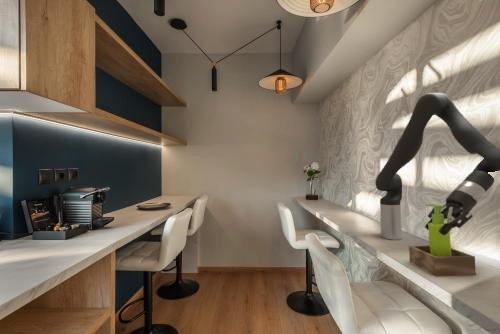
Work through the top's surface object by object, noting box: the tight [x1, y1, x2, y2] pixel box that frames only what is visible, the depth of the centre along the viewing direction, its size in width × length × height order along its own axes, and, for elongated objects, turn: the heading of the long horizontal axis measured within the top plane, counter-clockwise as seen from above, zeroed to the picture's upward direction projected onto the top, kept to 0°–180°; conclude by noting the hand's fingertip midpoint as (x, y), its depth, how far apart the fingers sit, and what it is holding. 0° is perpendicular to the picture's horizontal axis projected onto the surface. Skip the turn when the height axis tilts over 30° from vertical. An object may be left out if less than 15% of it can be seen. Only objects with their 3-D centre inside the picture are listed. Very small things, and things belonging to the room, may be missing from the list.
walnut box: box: [408, 244, 477, 277], centre depth 86 cm, size 13×13×6 cm
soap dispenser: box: [425, 203, 452, 257], centre depth 87 cm, size 6×7×20 cm
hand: (434, 230), depth 86 cm, fingers closed on soap dispenser, 6 cm apart
